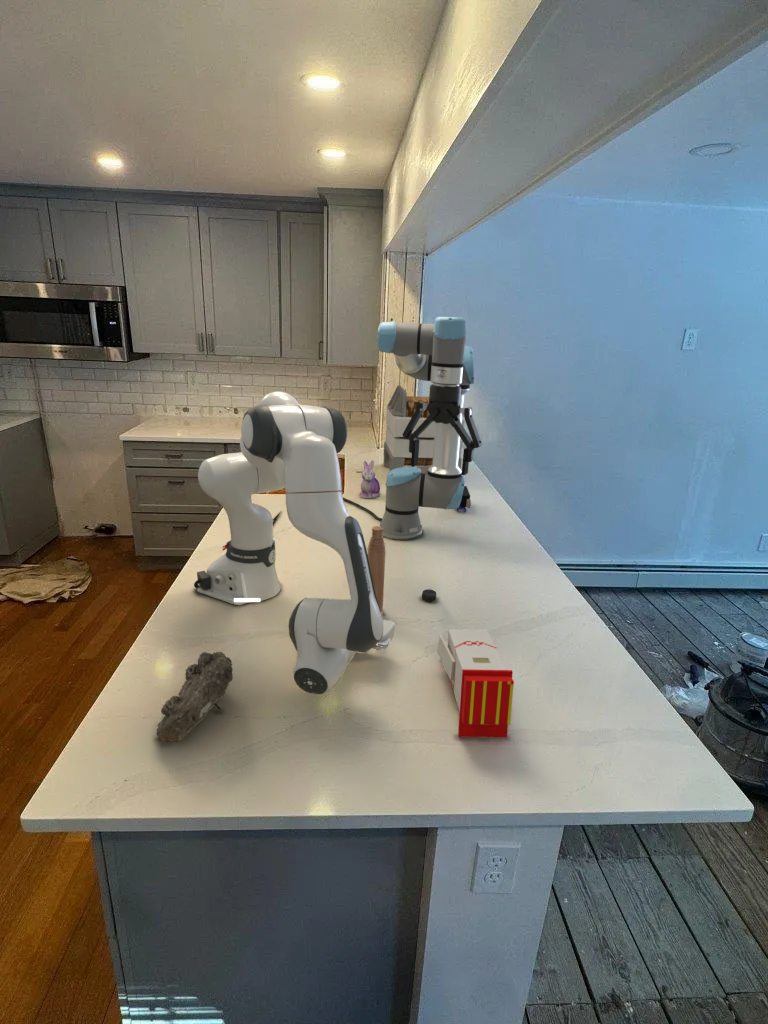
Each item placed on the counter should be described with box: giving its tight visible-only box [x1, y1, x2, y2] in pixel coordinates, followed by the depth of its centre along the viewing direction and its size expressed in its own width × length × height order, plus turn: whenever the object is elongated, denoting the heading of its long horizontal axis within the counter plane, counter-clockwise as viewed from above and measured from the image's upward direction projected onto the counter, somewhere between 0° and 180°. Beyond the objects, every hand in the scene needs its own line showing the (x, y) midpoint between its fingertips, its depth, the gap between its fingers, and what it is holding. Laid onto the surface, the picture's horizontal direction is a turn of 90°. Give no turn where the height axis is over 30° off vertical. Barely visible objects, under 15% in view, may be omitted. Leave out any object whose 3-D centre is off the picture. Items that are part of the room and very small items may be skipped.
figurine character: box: [456, 485, 472, 513], centre depth 228 cm, size 7×8×15 cm
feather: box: [273, 510, 282, 526], centre depth 212 cm, size 2×28×2 cm
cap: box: [421, 588, 437, 603], centre depth 156 cm, size 4×4×2 cm
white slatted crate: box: [383, 384, 465, 472], centre depth 268 cm, size 34×33×41 cm
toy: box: [437, 628, 515, 738], centre depth 117 cm, size 12×13×30 cm
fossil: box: [155, 651, 234, 743], centre depth 109 cm, size 22×10×15 cm
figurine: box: [360, 460, 381, 499], centre depth 236 cm, size 9×10×15 cm
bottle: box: [367, 525, 387, 613], centre depth 143 cm, size 4×4×24 cm
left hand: (360, 610), depth 135 cm, fingers open, 8 cm apart
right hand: (439, 469), depth 144 cm, fingers open, 13 cm apart
